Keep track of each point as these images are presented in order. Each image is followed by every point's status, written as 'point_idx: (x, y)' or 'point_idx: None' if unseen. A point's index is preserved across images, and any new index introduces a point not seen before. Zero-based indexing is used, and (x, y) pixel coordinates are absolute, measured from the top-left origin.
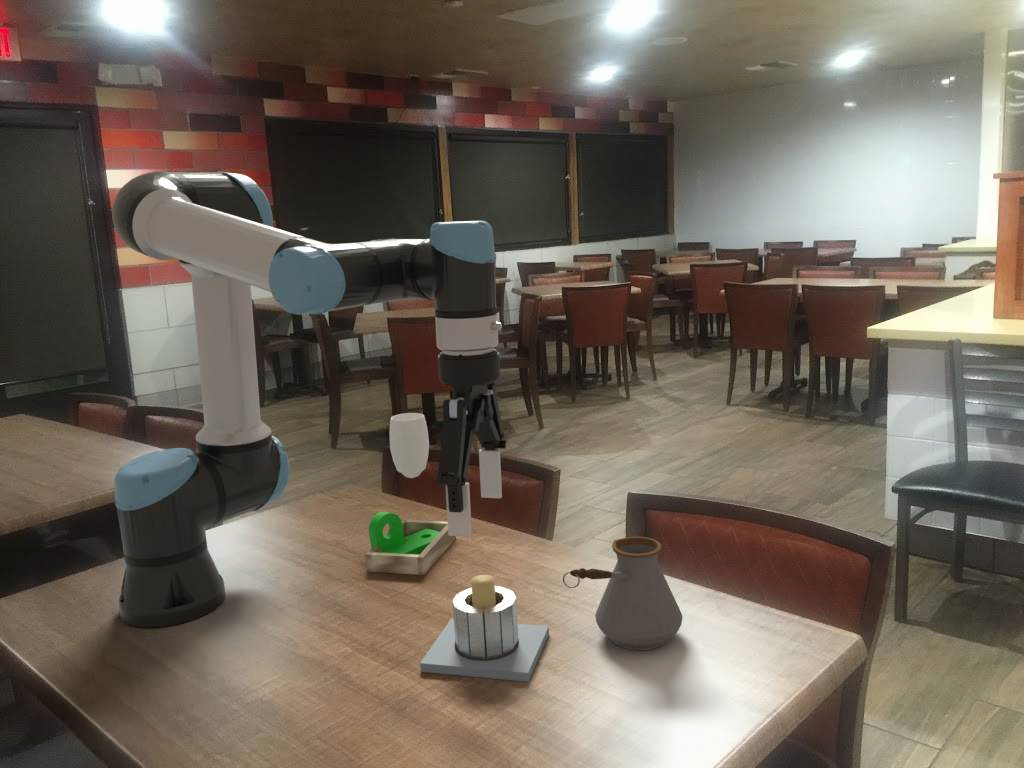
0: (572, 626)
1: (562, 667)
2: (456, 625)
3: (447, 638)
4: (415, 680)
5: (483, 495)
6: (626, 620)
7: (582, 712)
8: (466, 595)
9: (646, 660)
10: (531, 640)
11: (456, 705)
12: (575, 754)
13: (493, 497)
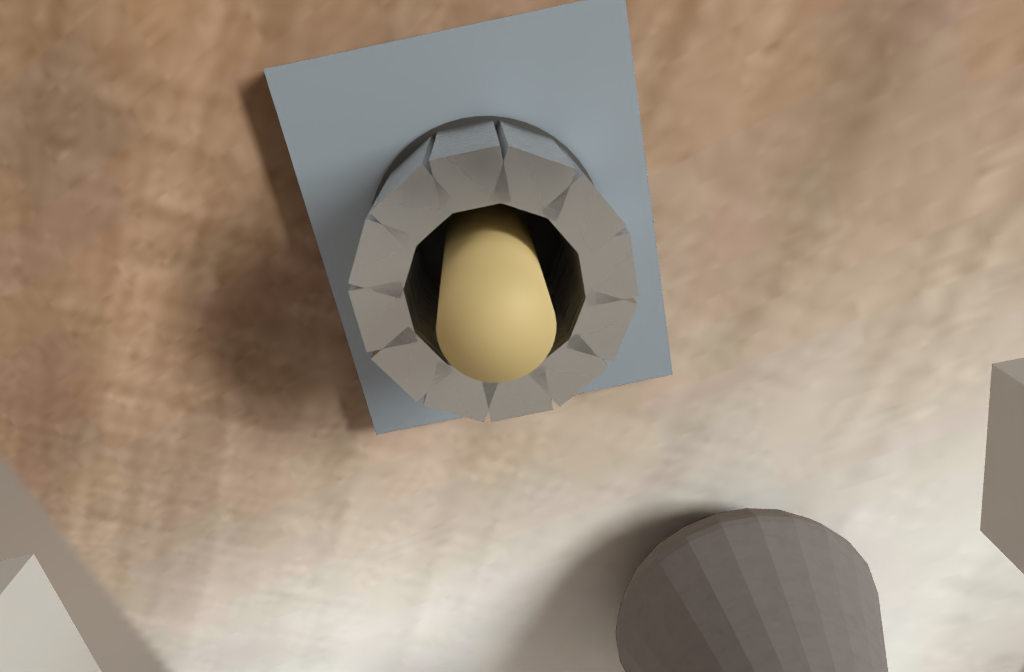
0: (736, 404)
1: (492, 469)
2: (385, 187)
3: (470, 70)
4: (217, 80)
5: (1007, 395)
6: (642, 663)
7: (313, 585)
8: (499, 198)
9: (603, 630)
10: None
11: (168, 289)
12: (156, 627)
13: (990, 475)
